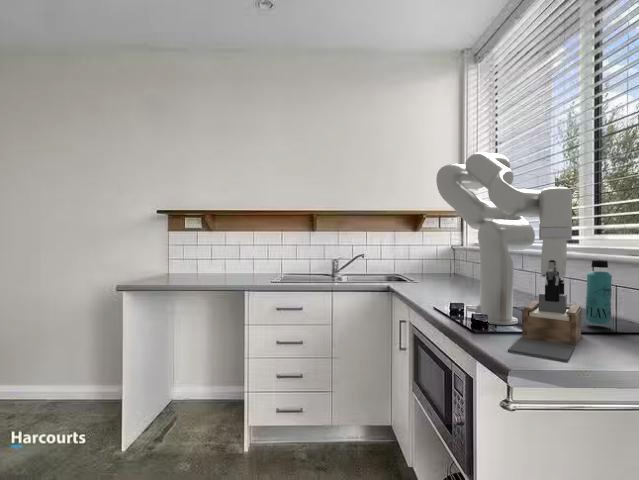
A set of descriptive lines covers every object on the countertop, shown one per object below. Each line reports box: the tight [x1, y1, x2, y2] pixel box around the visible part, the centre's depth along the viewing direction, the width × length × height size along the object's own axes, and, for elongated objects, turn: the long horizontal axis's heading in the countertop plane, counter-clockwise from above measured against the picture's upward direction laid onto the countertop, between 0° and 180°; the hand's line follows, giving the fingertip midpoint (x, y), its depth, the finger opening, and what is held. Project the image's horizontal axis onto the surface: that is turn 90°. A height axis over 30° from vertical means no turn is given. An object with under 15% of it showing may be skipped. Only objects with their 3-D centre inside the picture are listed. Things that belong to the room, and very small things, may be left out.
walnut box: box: [521, 300, 583, 348], centre depth 111 cm, size 12×14×8 cm
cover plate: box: [529, 291, 571, 321], centre depth 111 cm, size 9×12×6 cm
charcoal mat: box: [507, 337, 576, 363], centre depth 98 cm, size 12×14×1 cm
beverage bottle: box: [584, 259, 613, 325], centre depth 124 cm, size 6×7×20 cm
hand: (554, 299), depth 110 cm, fingers open, 9 cm apart
